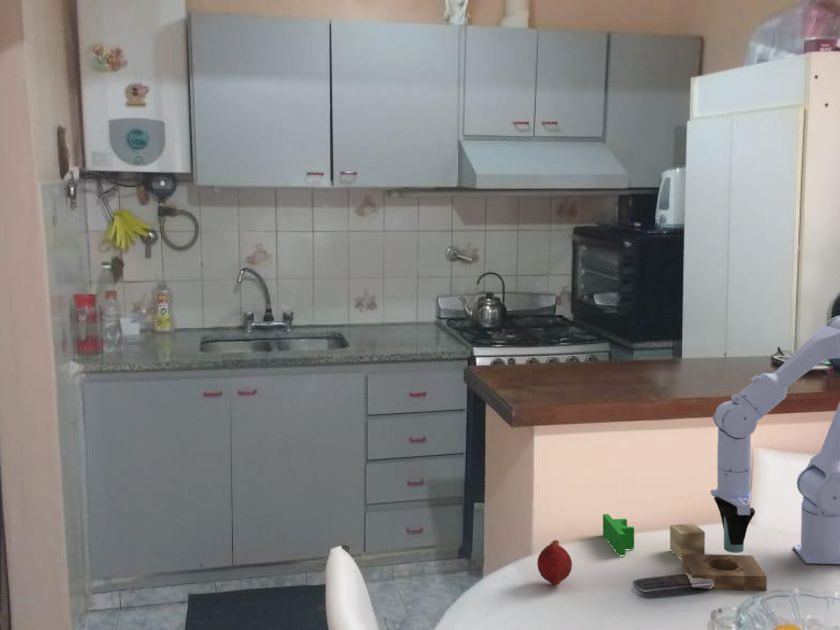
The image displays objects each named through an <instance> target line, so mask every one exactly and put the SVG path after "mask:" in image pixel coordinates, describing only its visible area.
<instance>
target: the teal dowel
mask: <svg viewBox="0 0 840 630" xmlns="http://www.w3.org/2000/svg"><path fill="white" fill-rule="evenodd" d="M744 542H745V541H744ZM744 542H743V545H731V543H730V541H729V536H728V528H727V523H726V519H725V516H724V529H723V549H724V550H725V551H726V552H729V553H735V554H736V553H742V552H744V549H745V547H744V546H745V545H744Z"/></svg>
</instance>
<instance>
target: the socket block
mask: <svg viewBox="0 0 840 630" xmlns="http://www.w3.org/2000/svg"><path fill="white" fill-rule="evenodd" d="M682 569H684V570H683V572H684V571H685V572H684V573H687V574H690V575H692V578H703V579H708V578H709V579H712V580H713V581H714V586H713V587H712V588H711V589H710V590H716V591H717V590H718V591H720V590H722V591H757V592H758V591H759V592H760V591H761V592H766V591H768V590H767V588H768V587H767V583H768V582H767V581H768V580H767V579H768V576H767V574H766V573H765V571H764V570H763V569H762V567H761V565H760V564H759V563H758V561H757V560H756V558H755V557H754V556H753V555H751V554H750V555H746V554H745V555H743V554H742V555H741V554H705V555H698V554H683V560H682Z"/></svg>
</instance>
